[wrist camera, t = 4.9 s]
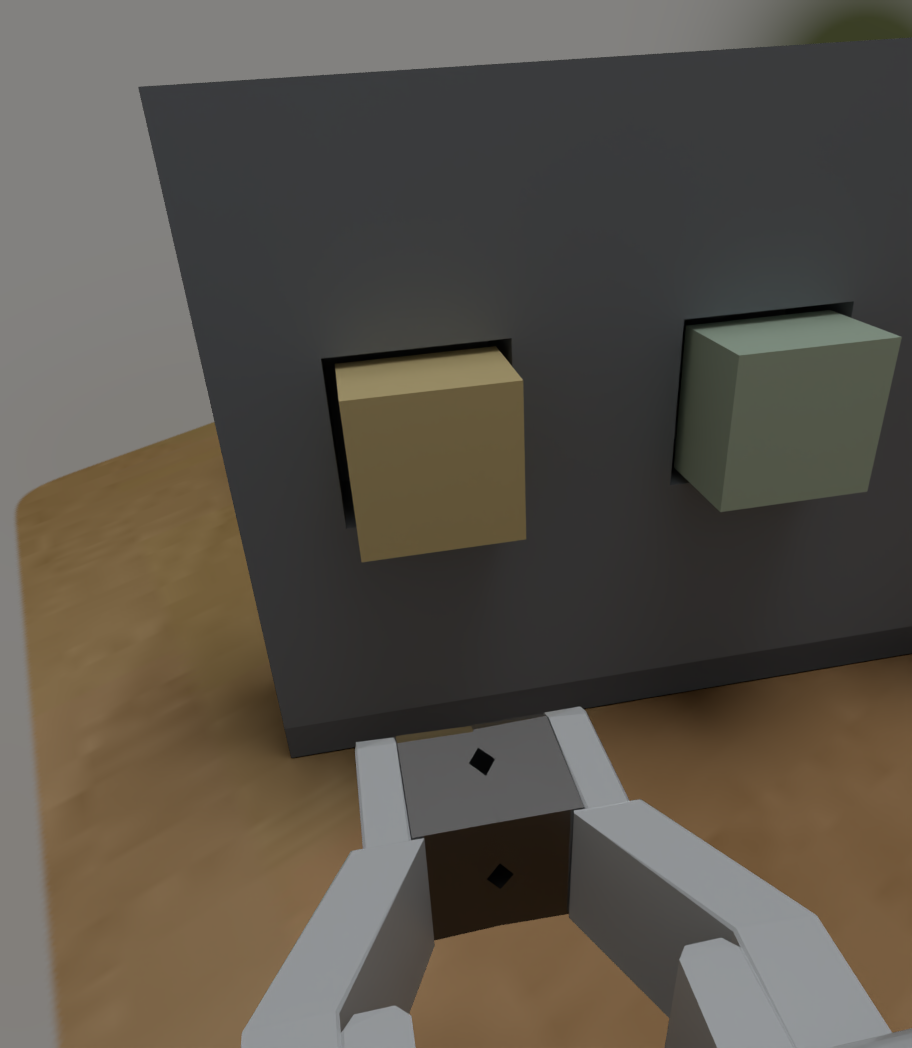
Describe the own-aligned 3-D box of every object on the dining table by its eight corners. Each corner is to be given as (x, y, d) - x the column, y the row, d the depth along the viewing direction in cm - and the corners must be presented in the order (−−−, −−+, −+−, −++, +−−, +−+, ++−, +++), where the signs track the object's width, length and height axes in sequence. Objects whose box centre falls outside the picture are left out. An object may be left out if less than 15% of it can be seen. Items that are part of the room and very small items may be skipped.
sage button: (867, 491, 20) (902, 337, 18) (720, 512, 19) (739, 355, 17) (805, 449, 22) (830, 309, 20) (673, 466, 21) (685, 325, 20)
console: (1093, 622, 27) (1353, 9, 18) (291, 758, 23) (138, 87, 15) (965, 539, 32) (1120, 32, 23) (294, 641, 29) (182, 94, 20)
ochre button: (526, 539, 18) (523, 379, 17) (361, 562, 18) (338, 401, 16) (500, 489, 21) (495, 346, 19) (355, 509, 20) (334, 363, 18)
